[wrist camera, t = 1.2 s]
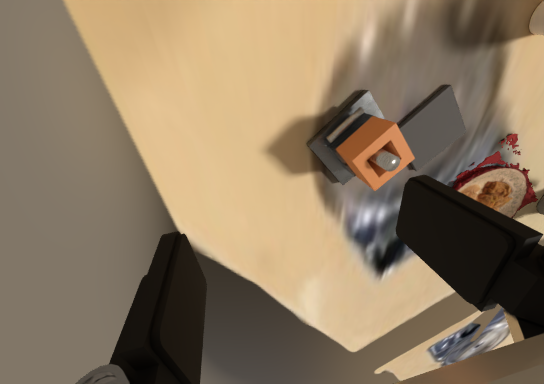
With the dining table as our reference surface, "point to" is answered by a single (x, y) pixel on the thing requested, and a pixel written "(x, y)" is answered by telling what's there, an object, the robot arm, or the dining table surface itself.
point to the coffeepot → (541, 206)
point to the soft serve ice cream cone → (537, 20)
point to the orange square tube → (375, 150)
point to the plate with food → (498, 184)
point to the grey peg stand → (342, 130)
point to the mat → (433, 127)
